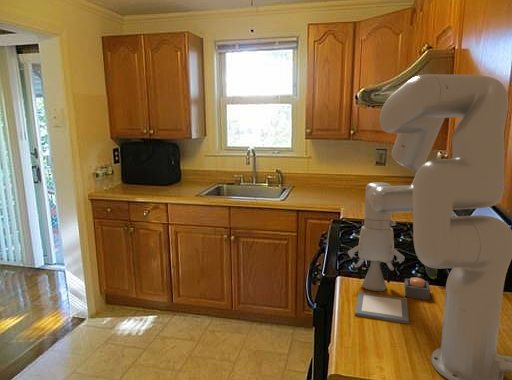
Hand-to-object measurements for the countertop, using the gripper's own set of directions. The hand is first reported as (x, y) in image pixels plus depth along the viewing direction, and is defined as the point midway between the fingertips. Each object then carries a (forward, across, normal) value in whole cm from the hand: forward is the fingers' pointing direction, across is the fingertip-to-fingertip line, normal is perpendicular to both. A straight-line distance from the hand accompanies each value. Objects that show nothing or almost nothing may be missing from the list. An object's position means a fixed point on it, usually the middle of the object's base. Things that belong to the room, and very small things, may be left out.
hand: (374, 279), depth 115 cm
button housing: (+2, -12, +1) cm, 12 cm away
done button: (+1, -12, +1) cm, 12 cm away
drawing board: (+2, -2, +14) cm, 14 cm away
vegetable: (+3, -17, -13) cm, 22 cm away
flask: (+3, 0, 0) cm, 3 cm away
